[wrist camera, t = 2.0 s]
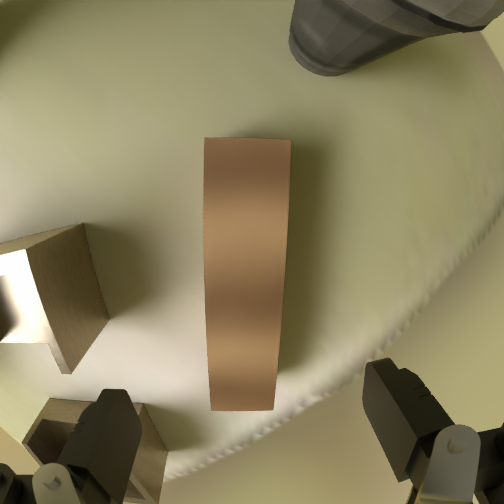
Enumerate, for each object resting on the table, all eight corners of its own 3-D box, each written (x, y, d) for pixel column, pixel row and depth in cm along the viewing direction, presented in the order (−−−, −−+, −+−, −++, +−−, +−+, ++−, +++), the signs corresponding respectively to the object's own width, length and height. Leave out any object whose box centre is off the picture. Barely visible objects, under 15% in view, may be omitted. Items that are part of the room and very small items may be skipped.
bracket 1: (-12, 247, 17) (-65, 272, 11) (82, 222, 18) (25, 249, 11) (13, 325, 19) (-29, 364, 13) (109, 320, 20) (71, 374, 13)
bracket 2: (167, 452, 24) (158, 505, 17) (79, 444, 23) (61, 488, 17) (142, 403, 22) (124, 462, 15) (49, 398, 22) (21, 442, 15)
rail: (211, 144, 17) (204, 137, 13) (279, 145, 17) (291, 140, 14) (213, 373, 21) (211, 410, 18) (267, 373, 22) (273, 410, 18)
